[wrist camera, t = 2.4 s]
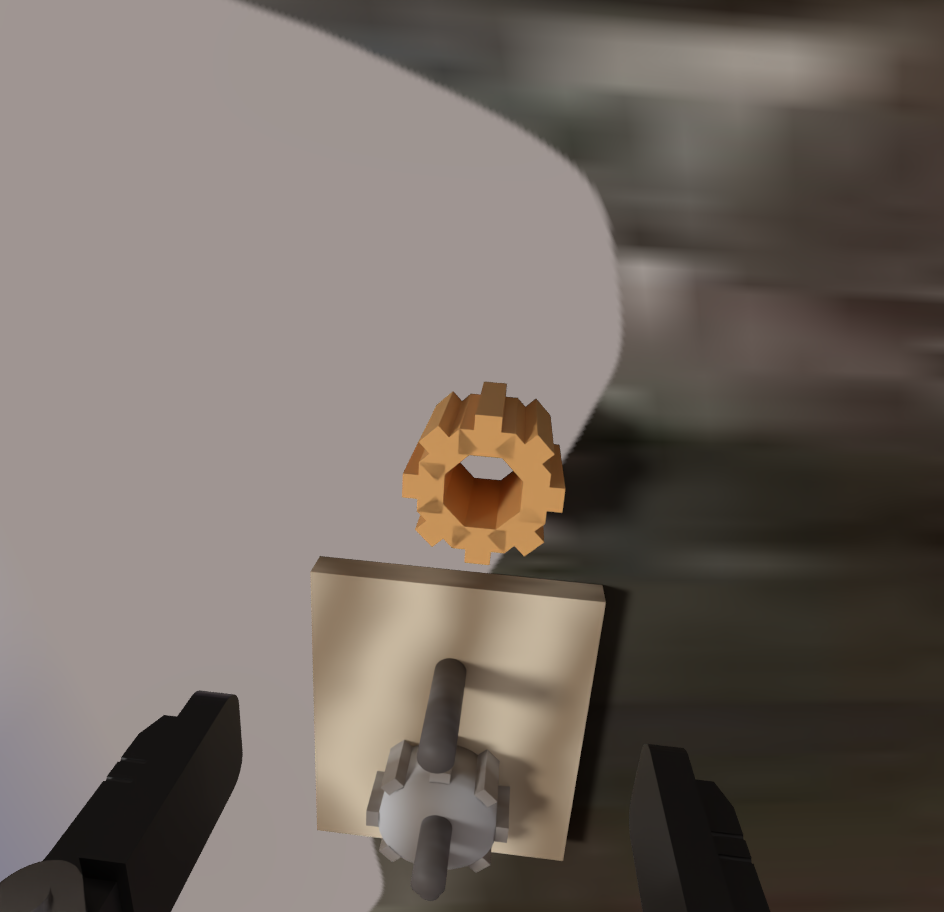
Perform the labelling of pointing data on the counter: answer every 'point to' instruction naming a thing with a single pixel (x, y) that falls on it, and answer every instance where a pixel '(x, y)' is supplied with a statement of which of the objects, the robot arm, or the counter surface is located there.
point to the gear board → (497, 694)
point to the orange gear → (484, 500)
